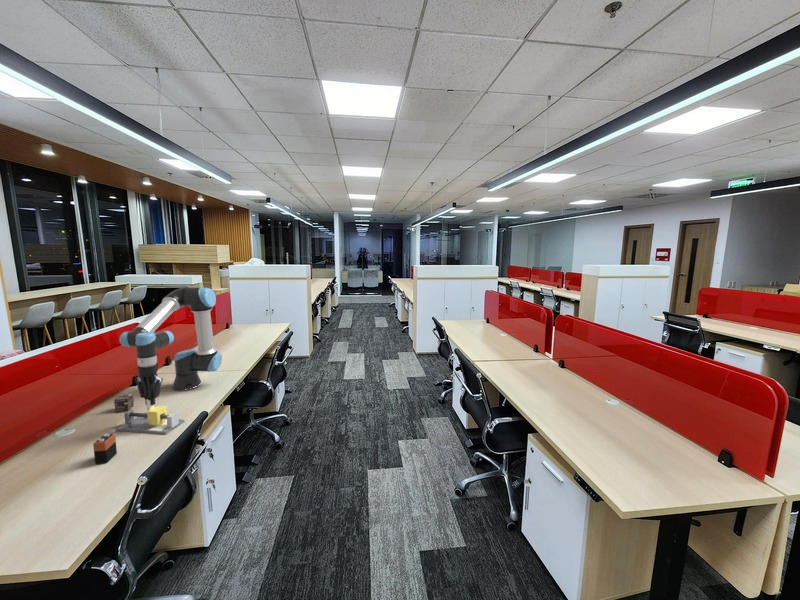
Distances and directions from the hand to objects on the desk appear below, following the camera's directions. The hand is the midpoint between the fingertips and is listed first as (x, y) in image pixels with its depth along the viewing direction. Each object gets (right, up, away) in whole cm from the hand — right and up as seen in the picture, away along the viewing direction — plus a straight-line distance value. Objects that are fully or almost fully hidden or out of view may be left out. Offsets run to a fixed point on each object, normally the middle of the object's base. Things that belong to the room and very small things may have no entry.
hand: (151, 411), depth 160 cm
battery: (0, -12, -25) cm, 27 cm away
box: (-27, -5, +17) cm, 33 cm away
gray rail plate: (-1, -8, +1) cm, 8 cm away
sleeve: (+3, -5, +1) cm, 6 cm away
